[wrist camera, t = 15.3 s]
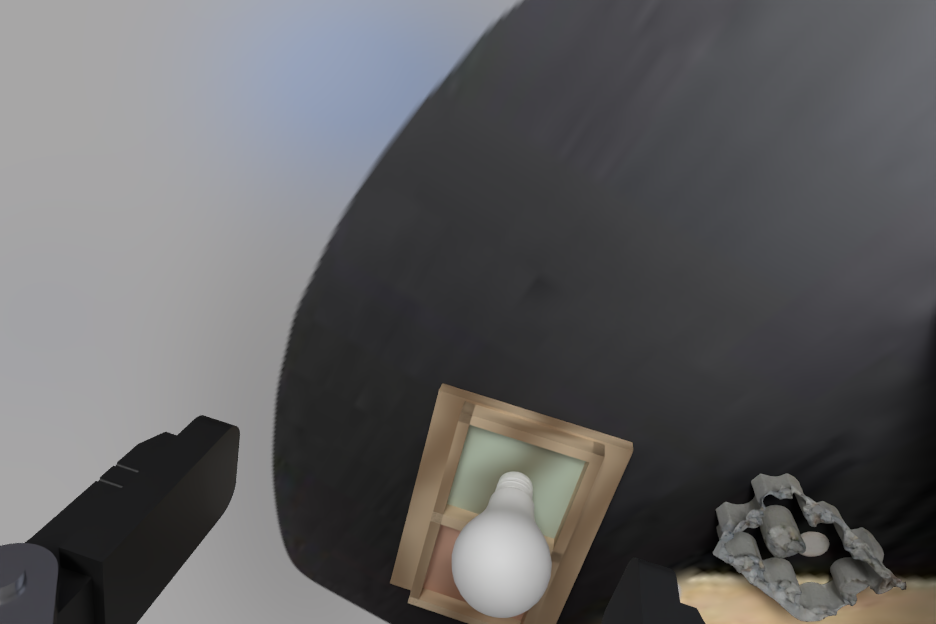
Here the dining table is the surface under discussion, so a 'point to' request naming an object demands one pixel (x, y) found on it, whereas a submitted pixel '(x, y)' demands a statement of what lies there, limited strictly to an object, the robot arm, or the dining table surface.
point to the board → (475, 480)
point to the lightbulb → (503, 553)
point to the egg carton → (799, 551)
